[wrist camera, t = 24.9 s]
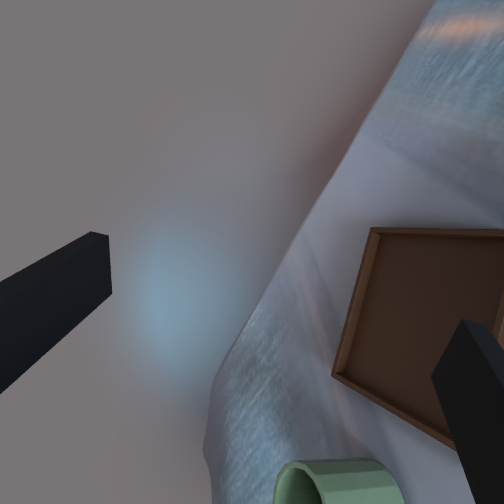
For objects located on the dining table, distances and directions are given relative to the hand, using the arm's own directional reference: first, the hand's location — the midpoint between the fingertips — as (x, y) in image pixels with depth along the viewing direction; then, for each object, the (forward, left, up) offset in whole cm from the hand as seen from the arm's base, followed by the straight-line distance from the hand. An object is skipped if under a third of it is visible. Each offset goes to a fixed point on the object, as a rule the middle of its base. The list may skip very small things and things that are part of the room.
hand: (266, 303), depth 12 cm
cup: (+18, -11, -26) cm, 34 cm away
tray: (-1, -11, -26) cm, 29 cm away
